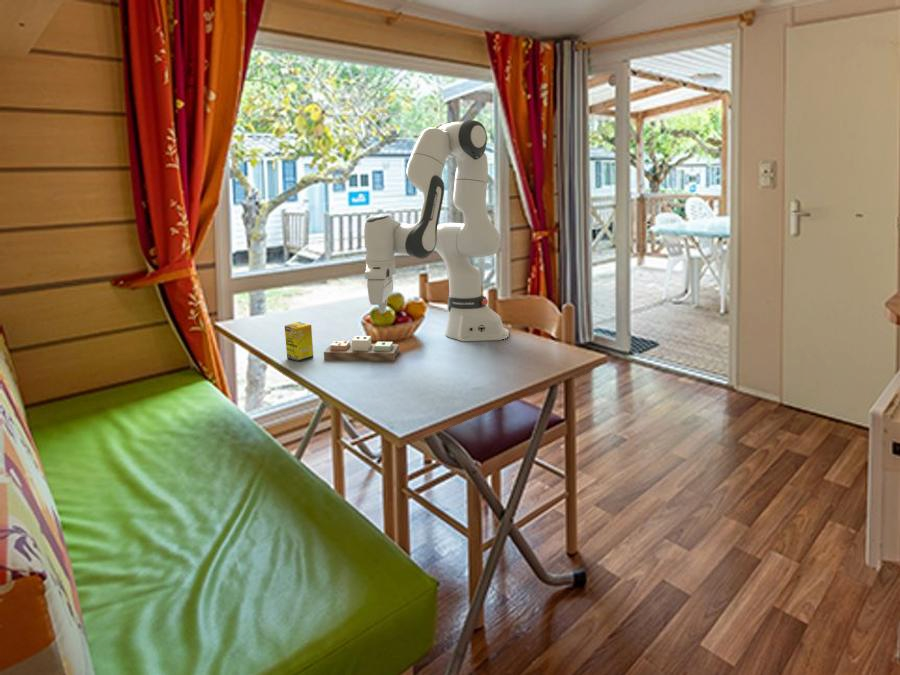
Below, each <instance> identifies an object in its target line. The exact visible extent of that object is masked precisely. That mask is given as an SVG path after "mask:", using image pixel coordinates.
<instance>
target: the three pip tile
mask: <svg viewBox="0 0 900 675" xmlns="http://www.w3.org/2000/svg"><path fill="white" fill-rule="evenodd" d="M350 343H351V341H350V340H334V341H332V343H331V344H330V345H329V346H330V348H331V350H348V349H349V347H350Z"/></svg>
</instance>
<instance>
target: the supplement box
mask: <svg viewBox="0 0 900 675" xmlns="http://www.w3.org/2000/svg"><path fill="white" fill-rule="evenodd" d="M312 332H313V331H312V324H309V323H303V322H301V321H297V322H294V323H293V322H292V323H289V324H286V325H284V337H285V347H286V348H285V349H286V359H287V360H291V361H293V362H294V361H295V362H298V363H301V362H304V361H307V360H310V359H313V358H314V345H313V333H312Z"/></svg>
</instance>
